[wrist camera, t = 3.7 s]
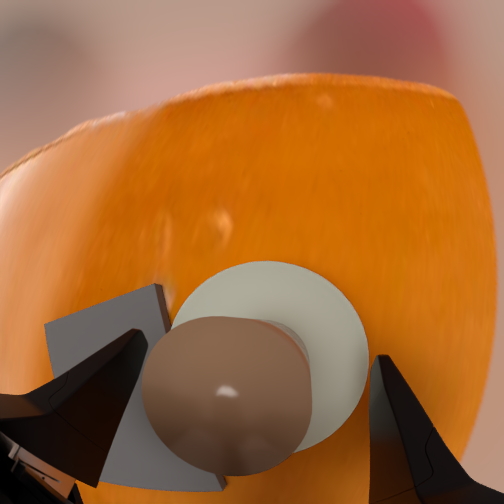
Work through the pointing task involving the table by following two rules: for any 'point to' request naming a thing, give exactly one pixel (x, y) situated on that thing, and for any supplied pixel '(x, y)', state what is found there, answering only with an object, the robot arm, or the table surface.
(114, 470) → the mat
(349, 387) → the lid
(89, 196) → the table surface
